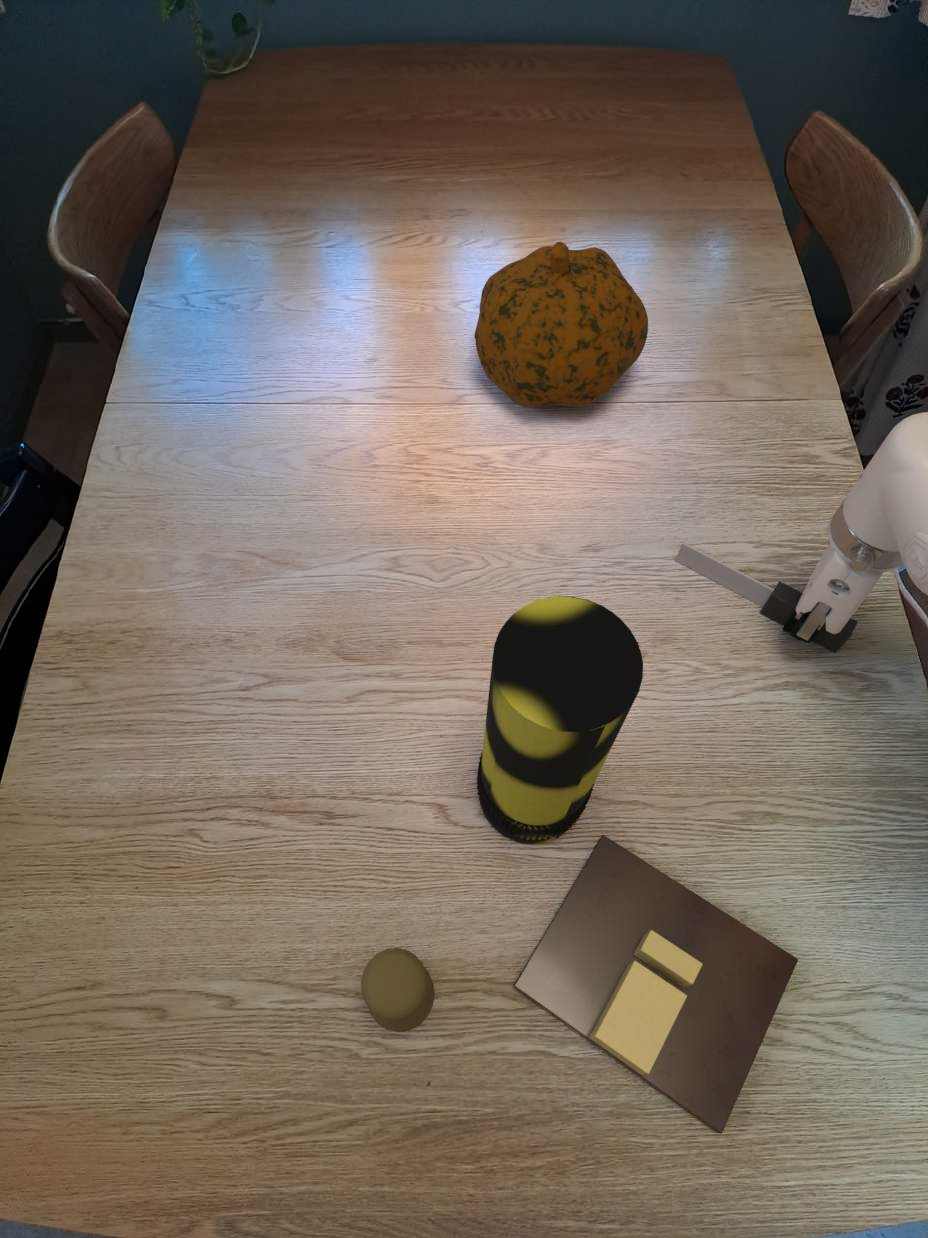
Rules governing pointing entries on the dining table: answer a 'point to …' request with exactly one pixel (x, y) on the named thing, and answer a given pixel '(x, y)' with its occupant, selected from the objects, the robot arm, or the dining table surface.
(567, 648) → the container
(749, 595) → the knife
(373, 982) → the cork
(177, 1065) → the dining table surface
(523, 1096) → the dining table surface
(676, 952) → the butter slice
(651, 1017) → the butter stick
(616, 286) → the decorative pumpkin
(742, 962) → the cutting board
